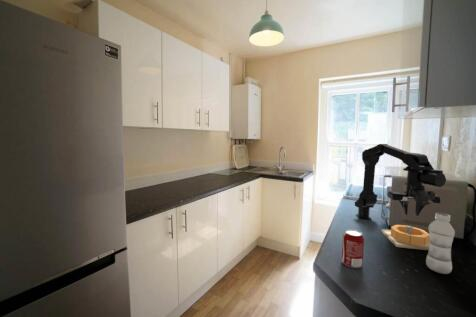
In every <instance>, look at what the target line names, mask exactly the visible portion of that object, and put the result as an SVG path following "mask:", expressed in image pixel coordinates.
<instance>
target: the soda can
mask: <svg viewBox="0 0 476 317" xmlns="http://www.w3.org/2000/svg"><path fill="white" fill-rule="evenodd" d="M341 243H342V244H341V245H342V247H341V263H342V264H343V265H344V266H346V267H349V268H351V269H359V268H360V269H361V268H362V267H363V264H364V249H365V248H364V245H365V238H364V236H363V233H362V232H361V231H360V230H356V229H353V228H352V229H351V228H347V229H345V230H344V233H343V234H342V242H341Z"/></svg>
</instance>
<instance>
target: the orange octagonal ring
mask: <svg viewBox="0 0 476 317" xmlns="http://www.w3.org/2000/svg"><path fill="white" fill-rule="evenodd" d="M406 226H407V225H404V224H395V225H392V226H391V227H390V230H391V235H392V236H393V237H394V238H395V239H397V240H400V241H403V242H405V243H408V244H414V245H426V244H428V243H429V239H430V238H429V232H427V231H425V230H424V229H422V228H419V227H415V226H412V227H413V230H412V235H411V234H407V233H405V232H406Z"/></svg>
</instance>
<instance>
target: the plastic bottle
mask: <svg viewBox="0 0 476 317" xmlns="http://www.w3.org/2000/svg"><path fill="white" fill-rule="evenodd" d="M434 215H435V216H434V219H435V220H433V221H432V222H430V223H429V225H428V233H429V238H430V239H429V242H430V243H429V250H427V251H428V253H427V255H426V257H425V258H426V259H425V264H426V266H427V268H429V269H430V270H431V271H434V272H435V273H438V274H443V275H449V274H450V273H451V272H452V270H453V261H452V244H453V242H454V238H455V235H456V234H455V233H456V231H455V229H454V227H453V226H452V225H451V223H450V222H451V215H450V214H448V213H444V212H435V214H434Z"/></svg>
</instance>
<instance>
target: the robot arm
mask: <svg viewBox="0 0 476 317" xmlns="http://www.w3.org/2000/svg"><path fill="white" fill-rule="evenodd" d="M385 154H386V155H388V156H390V157H393V158H396V159H398V160H400V161H401V162H402V163H403V164H405V165H406V166H405V167H404V168H403V169H402V171H403V172H407V177H406V182H405V183H404V185H406V186H405V187H406V188H405V190H404V191H403V193H401V192H399V191H391V190H390V191H388V192H387V198H389V199H390V200H392V201H399V203H400V206H401V209H402V211H403V213H404V215H405V216H407V215H408V207H409V206H408V205H409V203H410V201H408V200H414V201H415V216H416V217H417V216H420V213H422V210H423V209H424V208H425V207H426V206H428V205H431V203H433V204H442V199H441V197H440V195H436V192H435V191H433V190H426V189H425V188H426V187H425V185H427V186H432V187H438V188H442V187H444V185H445V184H446V182H447V178H446V175H445V173H444V170H440V169H435V168H434V167H433V165H432V164H431V163H430V161H429V157H428V156H427V155H426V154H425V153H424V154H422V153H418V152H417V153H416V152H410V151H406V150H403V149H401V148H397V147H395V146H392V145H389V144H387V143H378V144H376V145H374V146H373V147H370V148H367V149H364V150H363V151H362V153H361V159H362V163H363V164H364V171H363V172H364V174H363V175H364V176H363V184H362V185H363V186H362V191H361V192H360V193H359V196H358V199H357V200H356V201H354V206H355V207H356V208H358V209H357V213H356V214H355V216H356V215H357V216H358V217H357V216H356V217H357V218H358V219H360V218H362V220H372V217H370V210H371V208H374V206H375V205H376V204H377V202H378V194H376V193H375V192H374V186H375V184H374V183H375V174H376V173H375V172H376V165H378V163H379V161H380V158H381V157H382V156H383V155H385Z"/></svg>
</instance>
